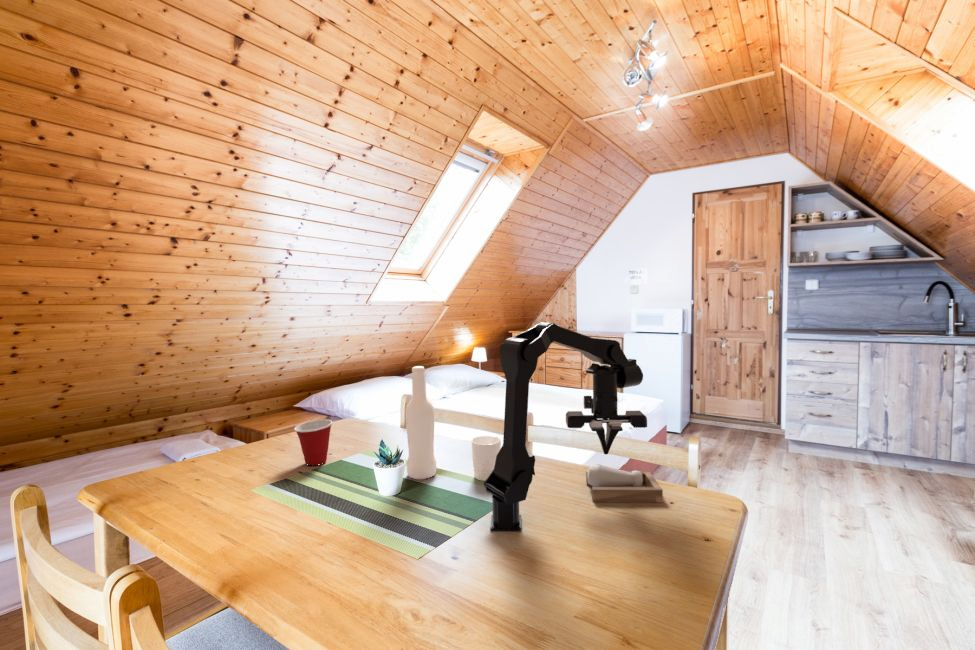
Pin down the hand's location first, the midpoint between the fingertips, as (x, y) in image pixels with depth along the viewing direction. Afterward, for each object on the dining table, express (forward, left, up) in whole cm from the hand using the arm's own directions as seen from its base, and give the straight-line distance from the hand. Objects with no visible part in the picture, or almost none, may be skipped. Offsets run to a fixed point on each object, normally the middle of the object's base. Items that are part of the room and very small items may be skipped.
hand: (605, 453), depth 119 cm
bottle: (+11, +48, -10) cm, 50 cm away
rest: (0, -3, -10) cm, 10 cm away
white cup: (+10, +30, -10) cm, 33 cm away
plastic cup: (+20, +82, -10) cm, 85 cm away
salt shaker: (+1, +4, -6) cm, 7 cm away
